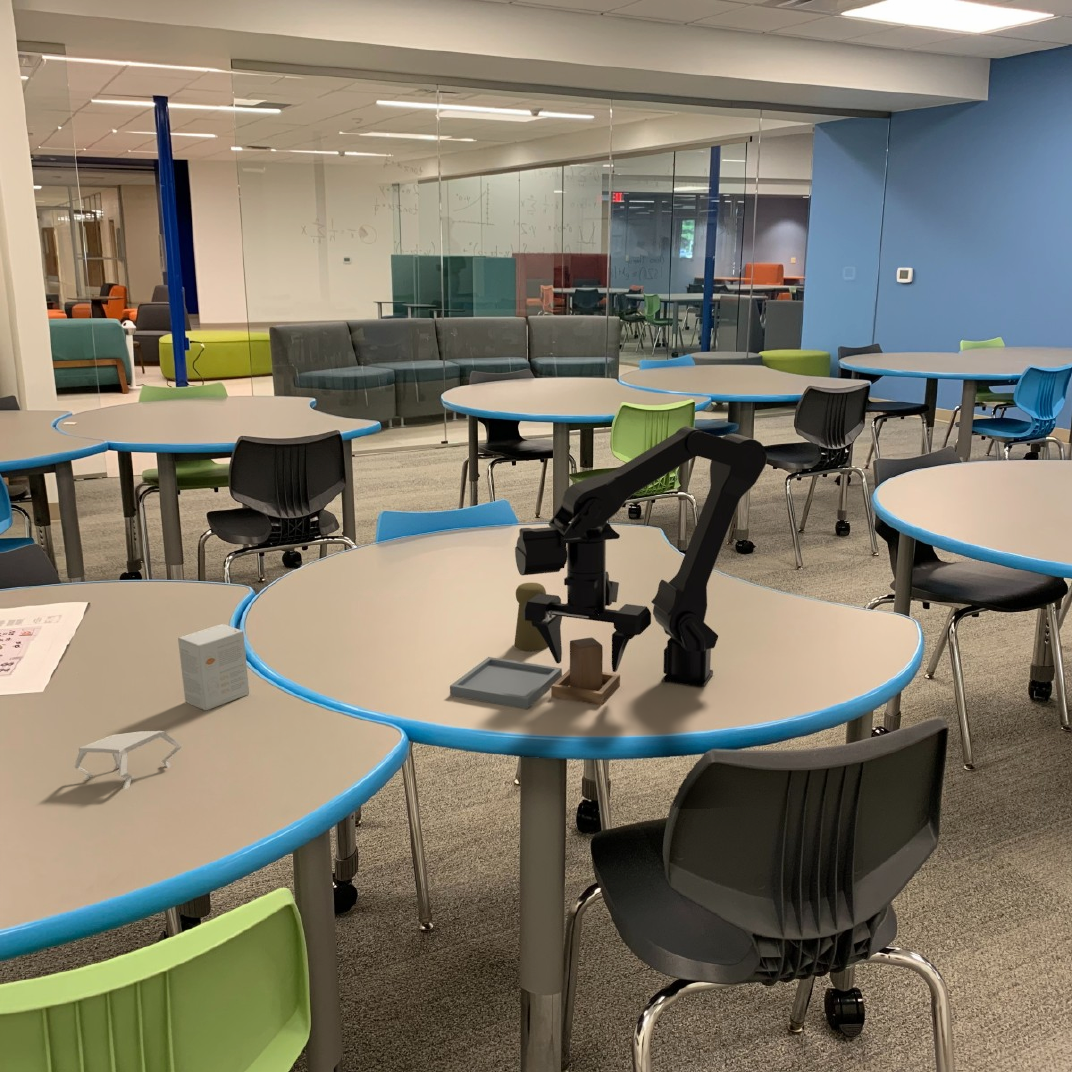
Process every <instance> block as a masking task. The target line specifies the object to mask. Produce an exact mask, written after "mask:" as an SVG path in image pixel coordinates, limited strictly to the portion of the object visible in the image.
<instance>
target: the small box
mask: <svg viewBox="0 0 1072 1072" xmlns="http://www.w3.org/2000/svg"><path fill="white" fill-rule="evenodd" d="M177 640H178V641H177V642H178V649H179V659H180V669H181V677H182V678H181V679H182V685H183V695H184V701H185V703H188V704H189V705H192V706H194V707H196V708H198V709H201V710H203V711H208V710H212V709H214V708H217V707H219V706H222V705H224V704H227V703H229V702H232V701H234V700H237V699H240V698H242V697H244V696H247V695H249V694H250V687H249V676H248V665H247V655H246V643H245V634H244V630H241V629H238V628H236V627H233V626H229V625H227V624H225V623H220V624H218V625H213V626H211V627H208V628H204V629H202V630H198V631H195V632H191V633H189V634H186V635H183V636H179V637H178V639H177Z"/></svg>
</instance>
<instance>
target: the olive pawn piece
mask: <svg viewBox="0 0 1072 1072" xmlns="http://www.w3.org/2000/svg"><path fill="white" fill-rule="evenodd" d="M539 593H540V594H547V591H546V588H545V586H544V585H543V584H541V583H538V582H524V583H522V584H520V585H518V586H517V588H516V589H515V598H516V601H517V603H518V611H517V619H516V627H515V634H514V635H515V636H514V645H513V647H514V649H516V650H518V651H523V652H539V651H543V650H546V649H549V647H548V645H547V643H546V642H545V640H544V638H543V637H542V635H541V634H540V632H539V630H538V629H537V628H536V627H533V626H532V625H531V622H532V621H526V620H524V619H523V608H524V605H525V603H526V602H527V601H529V600H530V599H532V598H533V597H534V596H536V595H537V594H539Z"/></svg>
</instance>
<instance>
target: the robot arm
mask: <svg viewBox="0 0 1072 1072" xmlns="http://www.w3.org/2000/svg"><path fill="white" fill-rule="evenodd" d="M695 457H700V458H702V459H703V458H704V459H707V460H709V461H710V466H709V473H710V474H709V476H710V478H709V479H710V487H709V491H708V493H707V496H706V499H705V501H704V504H703V506H702V510H701V511H700V514H699V517H698V520H697V522H696V525H695V527H694V530H693V533H692V535H691V539H690V540H689V543H688V546H687V549H686V552H685V554H684V557H683V559H682V561H681V564H680V567H679V570H678V572H677V573H676V574H675V576H673V578H671V579H670V580H669V581H667V580H664V579H660V582H659V584H658V588H657V591H656V595H655V596H654V598H652V600H651V604H653V609H652V612H651V611H650V609H649V607H648V606H646V605H645V606H643V605H637V604H630V603H629V604H628V603H625V604H624V605H622V607H620V608H619V609H617V610H616V609H610V608H606V606H607V607H609V606H611V605H612V603H617V602H618V593H619V588H620V587H619V586H620V582H617V581H611V580H610V575H609V571H606V566H607V565H606V563H607V561H606V560H607V559H606V554H607V553H606V551H607V549H606V547H607V544H606V541H609V540H610V541H611V540H619V539H620V537H621V535H620V533H618V532H617V531H615V529H614V528H612V526H611V524H610V523H609V522H608V521H609V520H610V519H612V517H613V516H615V515H617V513H618V512H619V511H620V509H622V507H623V506H624V505H625V503H626V502H627V500H629V499H630V498H631V497H632V496H634V495H635V494H636V493H638V492H640V491H641V490H643V489H644V488H647V487H648V486H650V485H651V484H653V483H655V482H656V481H658V480H659V479H661V478H663V477H665V476H666V475H667V474H669V473H670V472H672V471H675V470H676V469H678V468H679V467H681V466H682V465H684V464H686V463H688V462H689V461H691V460H692V459H693V458H695ZM767 461H768V453H767V451H766V448H765V447H764V445H763V444H762V443H761V442H760V441H758V440H757V439H753V438H751V437H747V436H744V435H740V434H736V433H728V434H726V435H724V436H719V435H715V434H711V433H708V432H705V431H704V430H701V429H699V428H695V427H692V426H682V427H681V428H679V429H678V430H676V432H675V433H673V434H672V435H670V436H668V437H667V438H665V439H663V440H662V441H660V442H659V443H657V444H656V445H654V446H652V447H650V448H649V449H647V450H646V451H644V452H642V453H641V454H639V455H638V456H635V457H634V458H632V459H631V460H629V461H627V462H626V463H624V464H622V465H621V466H618V468H616V469H614V470H612V471H610V472H607V473H602V474H599V475H594V476H590V477H588V478H586V479H583V480H580V481H578V482H575V483H573V484H571V485H570V486H568V487H567V489H566V490H565V491H564V493H563V497H562V503H561V505H560V506H559V508H558V509H557V511H556V512H555V514H554V515H553V517H552V518H551V520H550V521H549V523H548V526H549V527H548V526H547V527H537V528H536V527H535V528H532V527H522V528H519V531H518V532H519V536H518V538H517V541H516V546H514V556H515V564H516V567H517V570H518V573H519V575H521V576H531V575H542V574H550V573H559V572H560V571H561V570H562V569H565V566H566V567H567V568H566V570H567V571H566V573H567V575H566V577H564V578H563V585H564V586H567V587H566V588H567V591H566V593H567V602H566V603H562V599H561V597H560V595H555V594H548V593H546V594H540V593H539V594H537V595H536V596H534V597H533V598H532V599H530V600H529V601H527V602H526V603H525V605H524V608H523V619H524V620H526V621H532V622H531V625H532V626H533V627H536V628H537V629H538V630H539V632H540V634H541V635H542V637H543V638H544V640H545V642H546V643H547V645H548V649H549V651H550V653H551V655H552V658H553V659H554V661H555V662H556V664H558V665H559V664H560V663H561V662H562V657H563V656H562V655H563V652H562V651H563V650H562V649H563V648H562V635H561V632H562V631H561V625H562V620H563V617H566V618H574V619H581V620H588V621H596V622H605V623H610V624H611V623H612V624H613V629H615V631H613V633H612V634H611V669H612V673H616V672H617V671H618V669H619V666H620V664H621V661H622V658H623V656H624V653H625V650H626V648H627V645H628V643H629V641H630V640H633V638H634V637H636V636H640V635H641V634H643V633H644V632H645V630H646V629H647V628H648V627H649V626H650V625H651V624H652V614H653V617H654V619H655V622H656V623H658V625H660V626H661V627H662V628H663V630H664V633H665V634H666V635H668V636H669V637H670V638H669V639H668V640H667V641H666V642H667V643H666V647H665V648H664V649H663V674H664V676H663V678H662V681H663V682H666V683H671V684H672V683H673V684H678V685H686V686H691V687H698V688H704V687H705V686H706V684H707V683H708V682H709V679H710V678H712V676H713V674H714V670H713V669H711V659H712V657H711V656H712V655H711V654H712V649H715V647H716V644H717V642H718V639H719V634H717V633H716V632H715V631H714V630H713V629H712V628H711V627H710V626H708V625H707V624H706V622H705V618H706V615H707V610H708V589H707V587H708V583H709V580H710V578H711V575H712V573H713V570H714V567H715V565H716V563H717V559H718V557H719V556H720V555H719V554H720V552H721V550H722V547H723V544H724V542H725V539H726V536H727V533H728V532H729V529H730V525H731V524H732V521H733V519H734V517H735V513H736V510H737V508H738V505H739V504H740V503H739V502H740V501H741V499H742V497H743V496H744V495H746V493H747V492H749V491H750V489H752V487H753V486H755V484H756V483H757V481H758V479H759V478H760V476H761V474H762V473H763V472H764V471H763V470H764V469H765V468H766V465H767Z"/></svg>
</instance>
